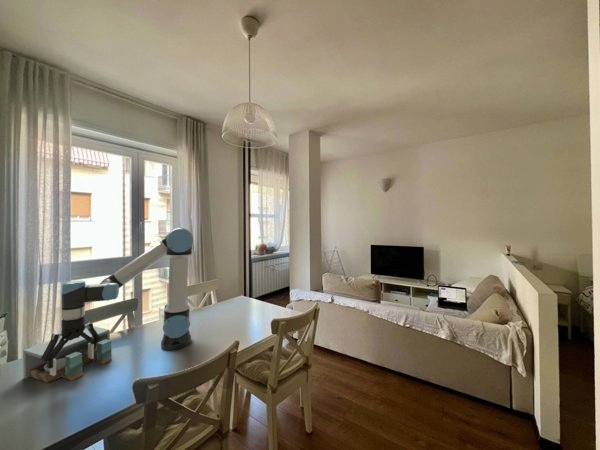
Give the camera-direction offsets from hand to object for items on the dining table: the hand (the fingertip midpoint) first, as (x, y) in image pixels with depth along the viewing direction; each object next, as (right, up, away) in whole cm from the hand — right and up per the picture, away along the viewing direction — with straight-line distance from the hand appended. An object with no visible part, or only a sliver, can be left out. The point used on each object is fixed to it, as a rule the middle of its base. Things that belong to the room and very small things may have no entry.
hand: (73, 366), depth 107 cm
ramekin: (-11, -5, +4) cm, 13 cm away
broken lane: (-3, -5, +14) cm, 15 cm away
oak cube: (-7, -5, +16) cm, 18 cm away
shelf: (-10, -5, +10) cm, 14 cm away
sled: (-7, -5, +3) cm, 9 cm away
